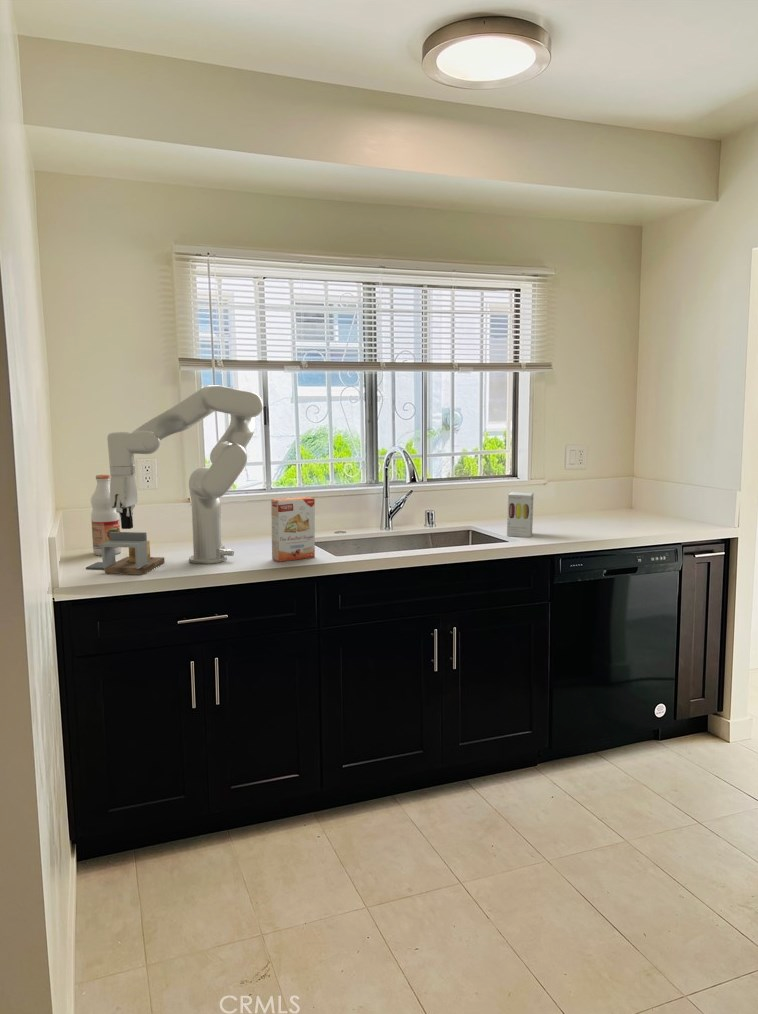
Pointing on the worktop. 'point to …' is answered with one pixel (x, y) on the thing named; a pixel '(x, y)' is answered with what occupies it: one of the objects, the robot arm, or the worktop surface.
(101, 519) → the fruit juice
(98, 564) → the mat
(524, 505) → the supplement box
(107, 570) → the board
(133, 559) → the block
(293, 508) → the cracker box
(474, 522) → the worktop surface
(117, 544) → the cover
